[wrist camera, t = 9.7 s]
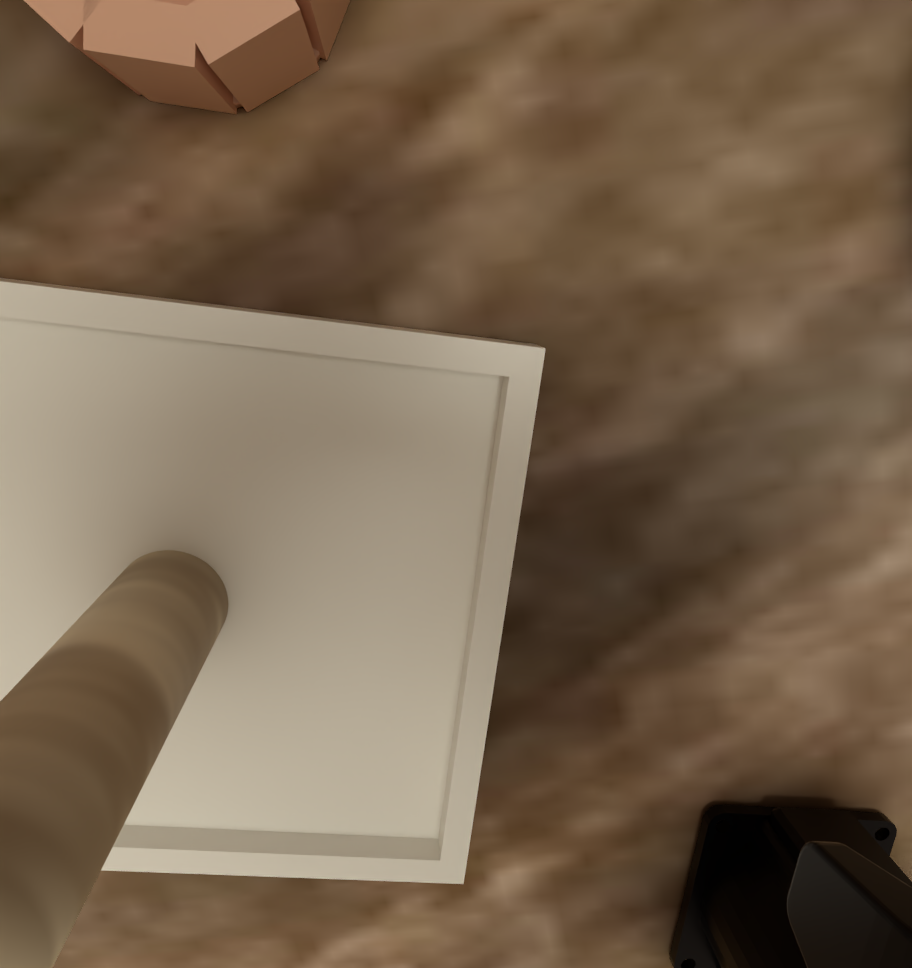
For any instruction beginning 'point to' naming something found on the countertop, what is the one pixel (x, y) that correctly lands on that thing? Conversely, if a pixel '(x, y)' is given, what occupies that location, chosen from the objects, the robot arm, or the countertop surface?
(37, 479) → the tray
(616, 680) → the countertop surface
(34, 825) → the dowel
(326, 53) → the cup
